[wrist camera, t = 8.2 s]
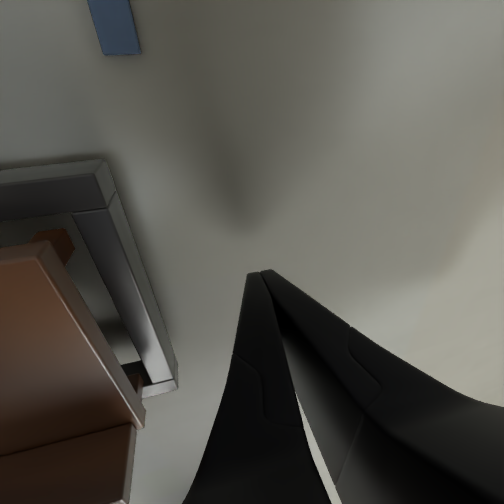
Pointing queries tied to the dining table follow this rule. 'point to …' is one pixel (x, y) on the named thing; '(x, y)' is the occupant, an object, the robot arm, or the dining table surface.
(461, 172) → the dining table surface
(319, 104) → the dining table surface
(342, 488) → the robot arm
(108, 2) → the strips
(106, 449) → the brown box
